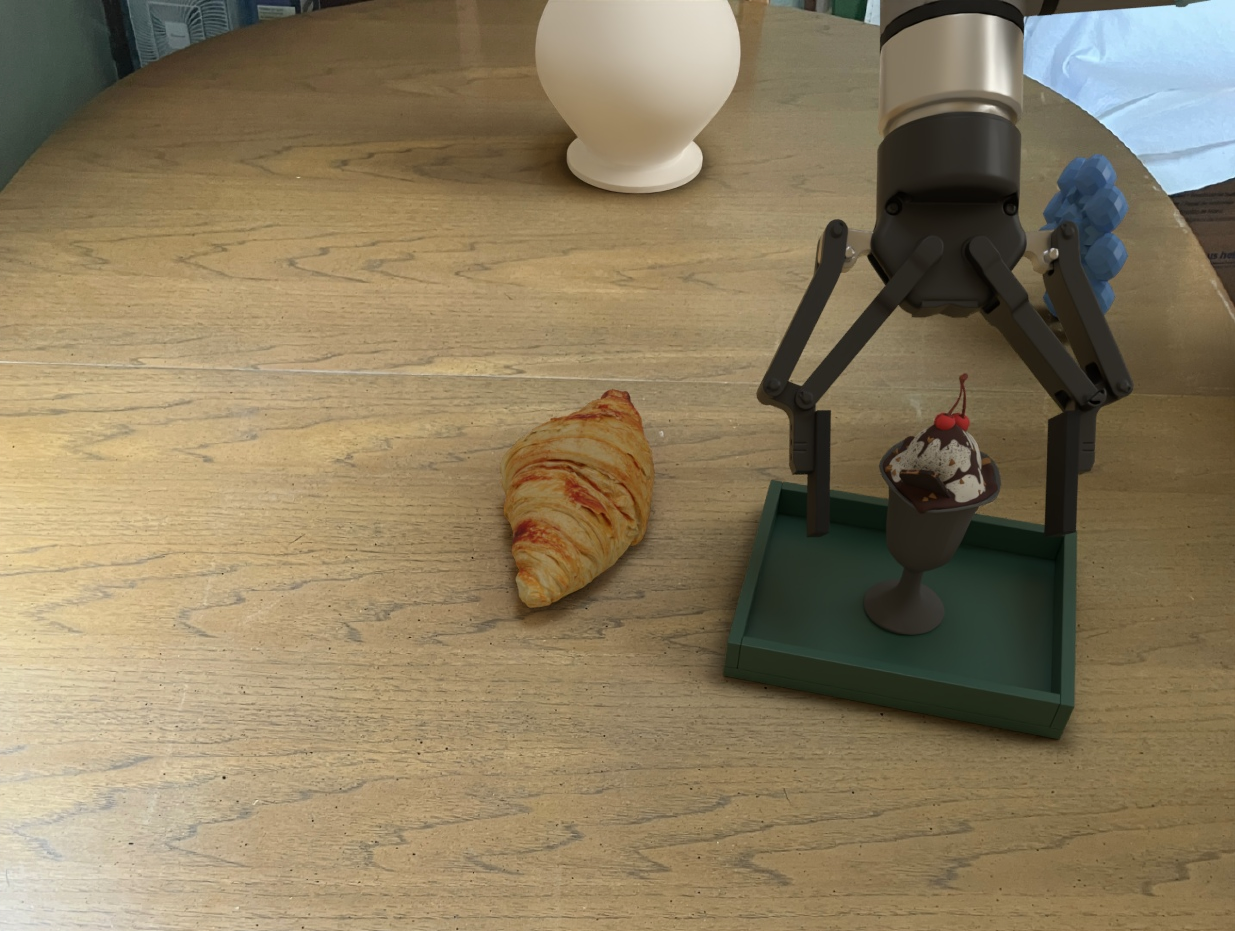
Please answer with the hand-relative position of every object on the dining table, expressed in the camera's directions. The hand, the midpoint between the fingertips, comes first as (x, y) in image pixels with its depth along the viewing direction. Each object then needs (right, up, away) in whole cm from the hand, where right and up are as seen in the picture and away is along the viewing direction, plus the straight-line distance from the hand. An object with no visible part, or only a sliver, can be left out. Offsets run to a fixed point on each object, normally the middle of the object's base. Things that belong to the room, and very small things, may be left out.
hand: (939, 535), depth 69 cm
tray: (0, -4, +8) cm, 9 cm away
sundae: (0, -3, +7) cm, 8 cm away
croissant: (-21, +4, +13) cm, 25 cm away
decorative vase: (-16, +44, +46) cm, 65 cm away
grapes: (+16, +23, +30) cm, 42 cm away
